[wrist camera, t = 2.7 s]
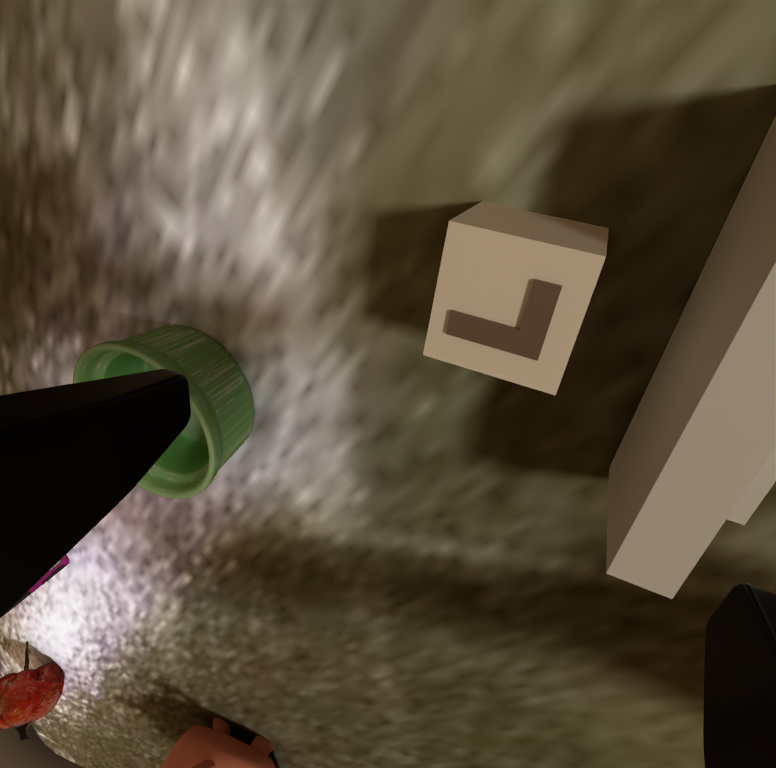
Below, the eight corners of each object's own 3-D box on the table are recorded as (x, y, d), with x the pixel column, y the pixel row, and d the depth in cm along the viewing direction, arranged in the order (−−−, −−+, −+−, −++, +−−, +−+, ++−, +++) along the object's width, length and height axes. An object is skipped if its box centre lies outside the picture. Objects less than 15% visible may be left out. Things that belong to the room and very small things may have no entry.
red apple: (43, 639, 64) (41, 730, 60) (-26, 653, 58) (-34, 755, 54) (75, 630, 60) (74, 726, 57) (5, 644, 54) (-2, 752, 51)
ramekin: (202, 471, 32) (149, 515, 29) (114, 353, 30) (45, 384, 27) (294, 428, 27) (245, 475, 24) (196, 285, 26) (126, 312, 22)
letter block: (567, 343, 20) (555, 397, 16) (457, 313, 21) (421, 356, 17) (608, 227, 17) (606, 257, 13) (482, 200, 18) (447, 221, 15)
